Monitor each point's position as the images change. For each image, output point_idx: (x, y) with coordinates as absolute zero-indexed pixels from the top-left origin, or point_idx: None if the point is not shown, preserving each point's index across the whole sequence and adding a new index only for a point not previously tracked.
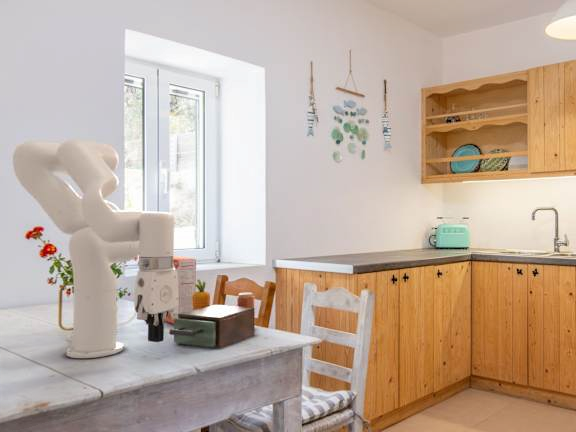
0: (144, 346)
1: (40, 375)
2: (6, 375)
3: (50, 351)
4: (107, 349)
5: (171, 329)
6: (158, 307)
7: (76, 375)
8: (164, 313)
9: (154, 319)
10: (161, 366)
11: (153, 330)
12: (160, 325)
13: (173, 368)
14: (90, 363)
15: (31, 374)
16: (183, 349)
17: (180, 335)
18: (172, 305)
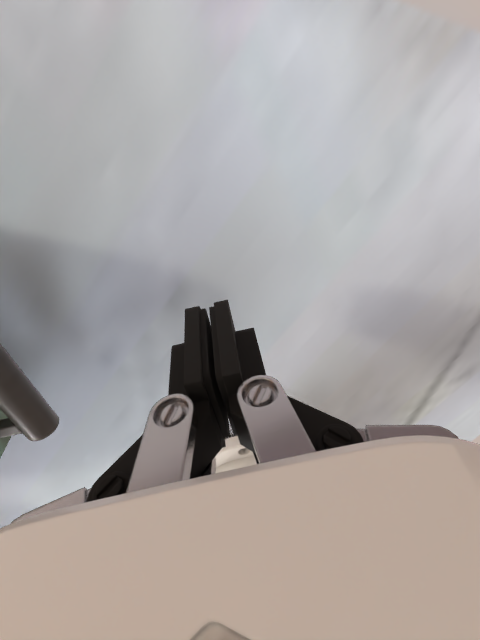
0: (120, 450)
1: (467, 394)
2: (476, 437)
3: None
4: (253, 457)
5: (40, 434)
6: (377, 526)
7: (454, 332)
8: (162, 480)
9: (297, 418)
10: (254, 172)
11: (261, 364)
12: (221, 374)
13: (247, 66)
14: (337, 403)
15: (462, 413)
16: (15, 336)
17: (16, 365)
18: (52, 571)
